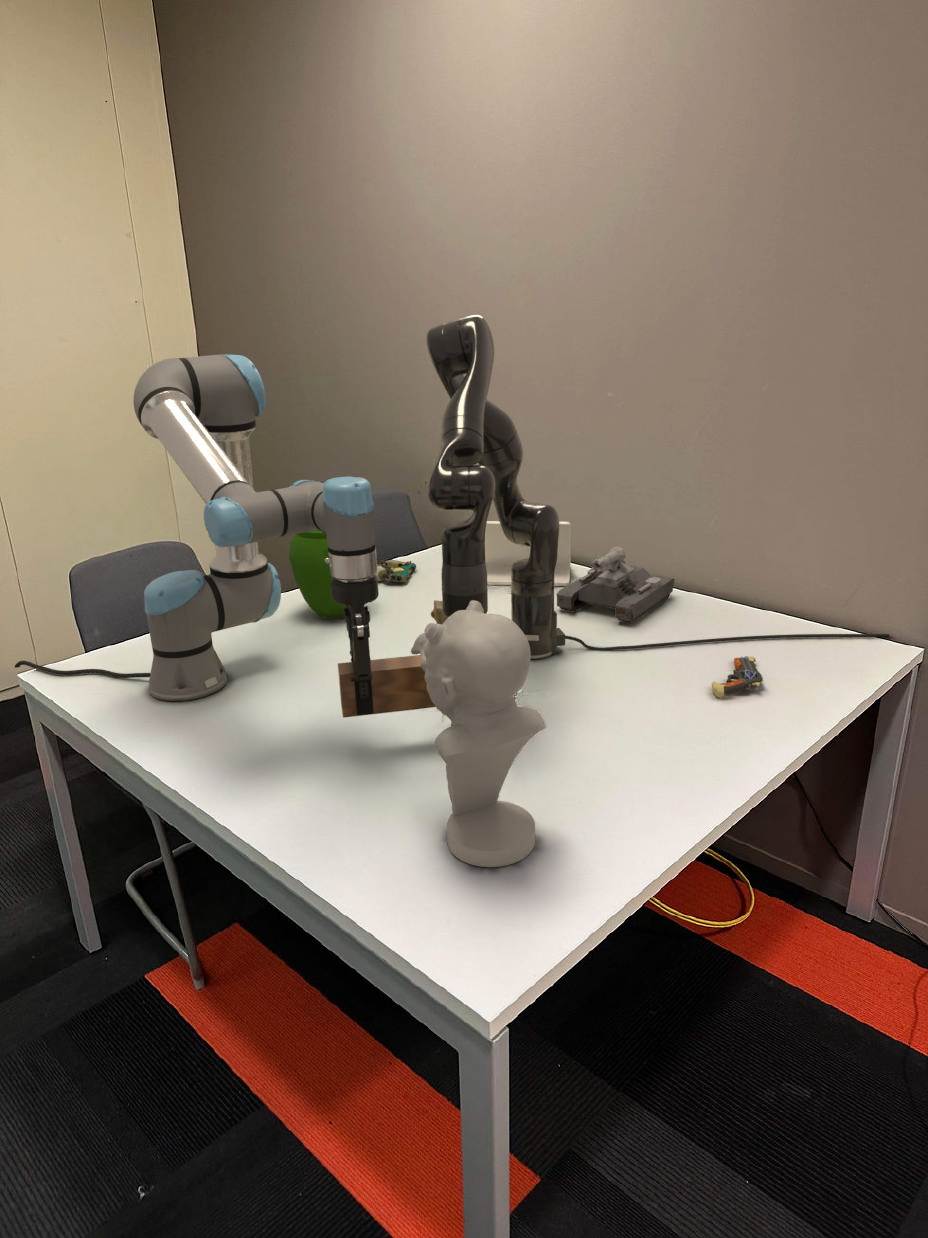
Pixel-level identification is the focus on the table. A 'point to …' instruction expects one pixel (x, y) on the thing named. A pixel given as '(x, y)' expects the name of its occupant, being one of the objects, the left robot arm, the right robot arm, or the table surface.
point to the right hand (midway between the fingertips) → (467, 679)
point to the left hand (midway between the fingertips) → (363, 706)
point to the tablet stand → (521, 555)
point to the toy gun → (739, 677)
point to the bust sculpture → (481, 729)
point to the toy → (616, 588)
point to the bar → (387, 686)
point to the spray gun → (394, 570)
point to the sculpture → (438, 612)
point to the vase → (314, 573)
